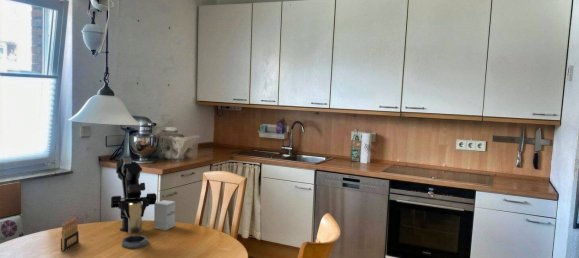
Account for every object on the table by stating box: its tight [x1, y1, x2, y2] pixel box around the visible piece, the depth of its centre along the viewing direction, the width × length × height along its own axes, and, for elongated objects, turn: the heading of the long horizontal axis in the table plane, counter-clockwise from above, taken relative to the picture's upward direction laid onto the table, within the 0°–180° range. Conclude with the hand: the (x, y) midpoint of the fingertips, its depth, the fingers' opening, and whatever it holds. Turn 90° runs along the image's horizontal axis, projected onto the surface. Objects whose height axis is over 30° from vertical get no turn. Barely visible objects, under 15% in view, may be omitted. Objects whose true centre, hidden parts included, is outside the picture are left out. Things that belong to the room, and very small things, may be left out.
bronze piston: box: [127, 202, 143, 234], centre depth 185 cm, size 6×6×12 cm
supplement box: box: [153, 199, 176, 231], centre depth 210 cm, size 7×7×13 cm
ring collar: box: [121, 234, 149, 250], centre depth 186 cm, size 11×11×2 cm
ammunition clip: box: [60, 215, 80, 251], centre depth 181 cm, size 11×2×12 cm, turn 178°
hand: (135, 217), depth 184 cm, fingers closed on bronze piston, 5 cm apart
